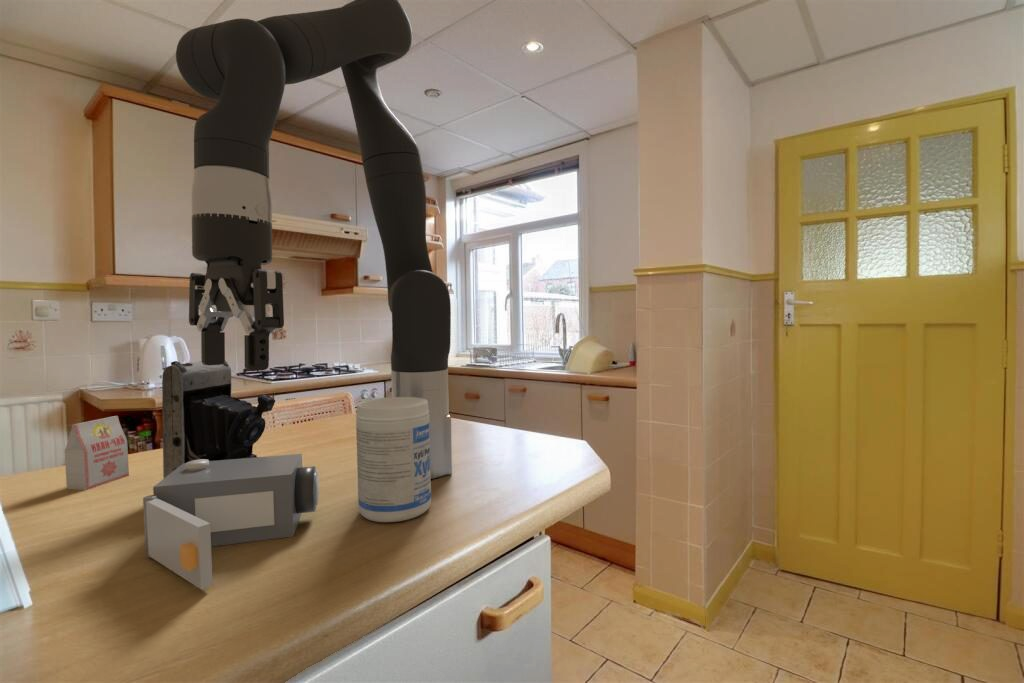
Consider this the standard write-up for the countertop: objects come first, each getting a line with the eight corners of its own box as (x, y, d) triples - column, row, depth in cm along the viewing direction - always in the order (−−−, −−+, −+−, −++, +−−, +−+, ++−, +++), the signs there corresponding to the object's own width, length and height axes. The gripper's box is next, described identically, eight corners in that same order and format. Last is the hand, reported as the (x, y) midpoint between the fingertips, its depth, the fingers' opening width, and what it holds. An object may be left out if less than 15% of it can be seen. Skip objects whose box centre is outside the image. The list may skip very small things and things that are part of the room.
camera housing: (321, 505, 67) (319, 446, 66) (313, 534, 58) (311, 466, 58) (186, 520, 62) (183, 457, 62) (155, 554, 54) (152, 480, 53)
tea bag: (66, 488, 75) (62, 424, 74) (110, 474, 81) (107, 415, 81) (86, 490, 74) (82, 425, 74) (129, 475, 81) (125, 416, 80)
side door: (213, 586, 47) (211, 520, 46) (191, 595, 45) (188, 528, 45) (156, 550, 54) (154, 494, 53) (136, 558, 52) (133, 499, 52)
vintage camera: (253, 510, 67) (254, 366, 66) (159, 498, 70) (159, 360, 69) (298, 487, 76) (299, 361, 75) (213, 477, 79) (214, 356, 78)
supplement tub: (433, 521, 62) (431, 406, 61) (355, 529, 60) (352, 410, 59) (429, 494, 71) (427, 394, 70) (361, 500, 69) (358, 397, 68)
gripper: (162, 217, 53) (164, 365, 54) (235, 203, 46) (236, 375, 46) (231, 229, 59) (232, 361, 60) (305, 218, 52) (305, 369, 53)
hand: (234, 367), depth 53 cm, fingers open, 8 cm apart
